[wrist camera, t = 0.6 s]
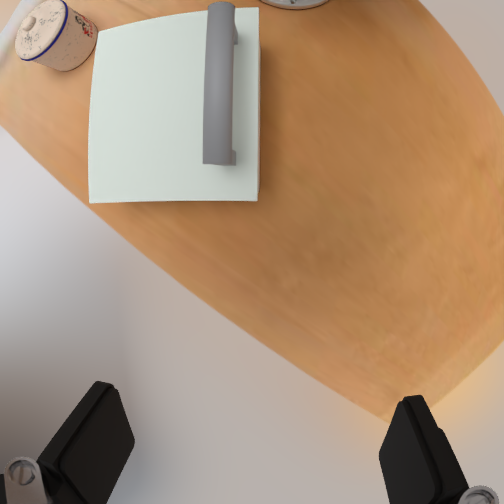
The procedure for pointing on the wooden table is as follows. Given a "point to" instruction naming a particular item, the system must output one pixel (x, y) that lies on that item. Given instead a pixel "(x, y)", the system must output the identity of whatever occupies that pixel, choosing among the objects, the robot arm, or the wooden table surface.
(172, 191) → the carton lid
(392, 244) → the wooden table surface
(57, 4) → the teacup with lid
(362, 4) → the wooden table surface
